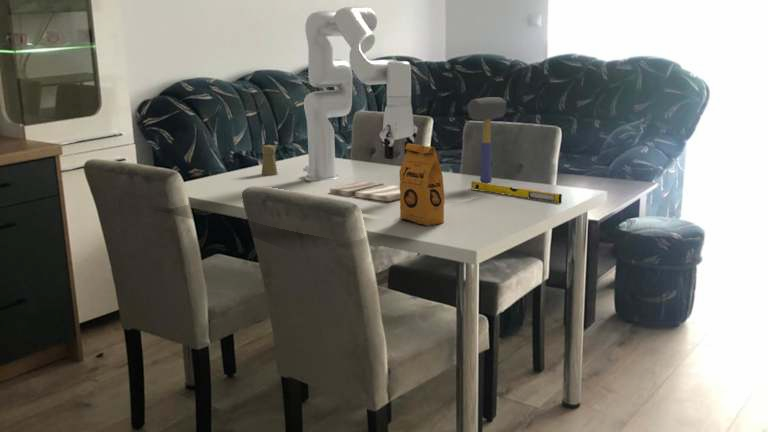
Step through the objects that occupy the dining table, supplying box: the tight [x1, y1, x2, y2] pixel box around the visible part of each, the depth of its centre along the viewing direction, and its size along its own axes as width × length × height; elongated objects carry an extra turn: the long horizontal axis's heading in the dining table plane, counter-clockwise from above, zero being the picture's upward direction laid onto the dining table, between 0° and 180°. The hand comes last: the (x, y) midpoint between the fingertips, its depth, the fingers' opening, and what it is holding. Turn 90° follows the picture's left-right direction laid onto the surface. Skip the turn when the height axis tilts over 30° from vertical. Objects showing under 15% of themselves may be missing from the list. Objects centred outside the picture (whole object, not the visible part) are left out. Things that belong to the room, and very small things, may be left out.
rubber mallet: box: [467, 96, 507, 184], centre depth 282 cm, size 12×8×30 cm, turn 122°
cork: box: [261, 144, 278, 177], centre depth 308 cm, size 6×6×11 cm
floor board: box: [329, 180, 400, 204], centre depth 268 cm, size 26×17×3 cm, turn 49°
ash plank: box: [355, 184, 400, 201], centre depth 264 cm, size 14×15×2 cm
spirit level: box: [471, 180, 563, 204], centre depth 267 cm, size 33×1×3 cm, turn 48°
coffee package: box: [399, 143, 445, 227], centre depth 232 cm, size 10×12×22 cm
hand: (399, 156), depth 258 cm, fingers open, 9 cm apart
